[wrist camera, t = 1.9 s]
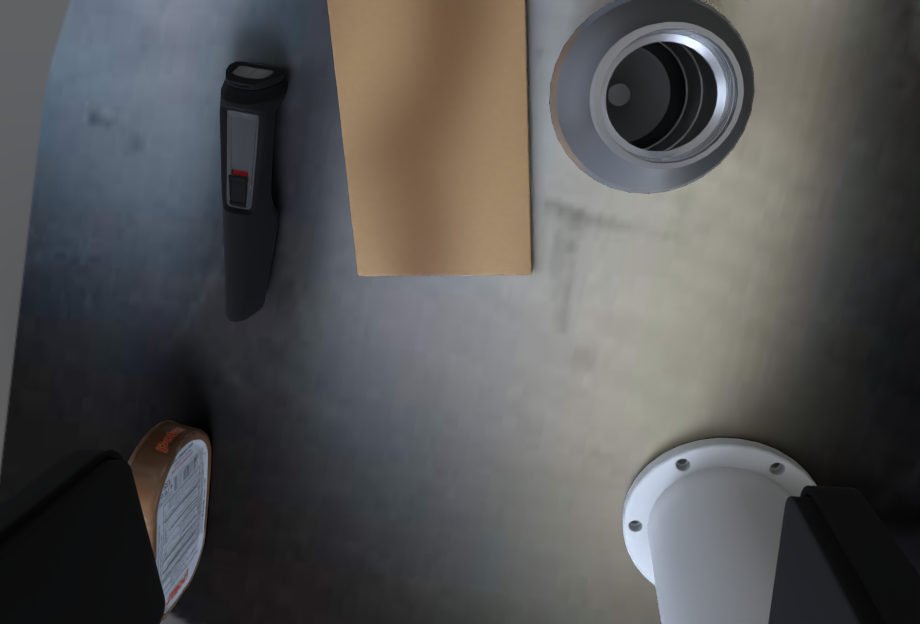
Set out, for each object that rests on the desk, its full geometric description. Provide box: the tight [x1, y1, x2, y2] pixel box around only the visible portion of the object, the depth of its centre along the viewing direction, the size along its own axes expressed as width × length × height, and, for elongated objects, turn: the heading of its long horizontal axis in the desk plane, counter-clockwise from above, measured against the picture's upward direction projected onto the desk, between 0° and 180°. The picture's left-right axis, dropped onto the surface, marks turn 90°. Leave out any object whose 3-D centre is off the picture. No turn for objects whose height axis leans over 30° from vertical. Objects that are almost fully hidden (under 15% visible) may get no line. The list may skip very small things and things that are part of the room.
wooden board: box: [327, 0, 532, 276], centre depth 37 cm, size 11×18×1 cm, turn 3°
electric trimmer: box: [220, 62, 288, 322], centre depth 39 cm, size 4×16×3 cm, turn 170°
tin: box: [128, 420, 211, 621], centre depth 45 cm, size 15×3×8 cm, turn 168°
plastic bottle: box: [549, 0, 754, 194], centre depth 25 cm, size 6×7×20 cm
